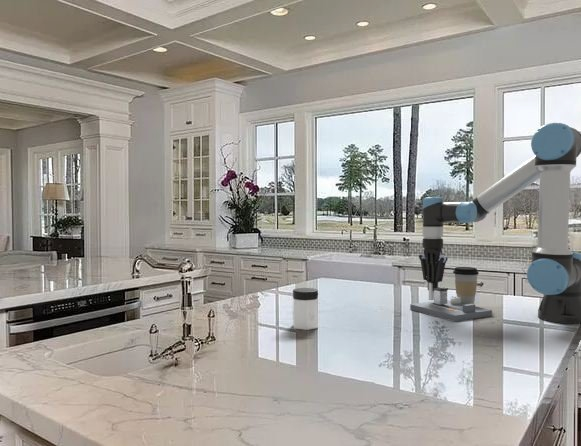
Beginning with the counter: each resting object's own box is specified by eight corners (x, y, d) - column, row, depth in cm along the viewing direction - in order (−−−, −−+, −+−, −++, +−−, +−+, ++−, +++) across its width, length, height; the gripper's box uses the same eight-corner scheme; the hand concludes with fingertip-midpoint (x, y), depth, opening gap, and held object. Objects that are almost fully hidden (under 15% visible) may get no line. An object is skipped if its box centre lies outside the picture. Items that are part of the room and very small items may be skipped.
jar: (301, 331, 153) (301, 293, 152) (287, 326, 160) (286, 289, 159) (324, 327, 158) (324, 290, 157) (309, 322, 165) (309, 286, 164)
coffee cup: (482, 309, 184) (482, 269, 183) (457, 309, 184) (457, 269, 184) (473, 304, 193) (473, 266, 193) (449, 304, 193) (449, 266, 193)
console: (491, 315, 173) (492, 302, 173) (455, 321, 165) (455, 307, 165) (445, 304, 193) (445, 293, 193) (410, 309, 184) (410, 297, 184)
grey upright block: (447, 303, 182) (448, 287, 182) (439, 304, 180) (440, 288, 180) (441, 302, 185) (441, 286, 185) (433, 303, 183) (433, 287, 183)
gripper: (453, 238, 182) (452, 301, 182) (428, 236, 193) (427, 296, 194) (438, 239, 178) (437, 303, 179) (413, 237, 190) (413, 297, 190)
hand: (432, 299), depth 186 cm, fingers closed
